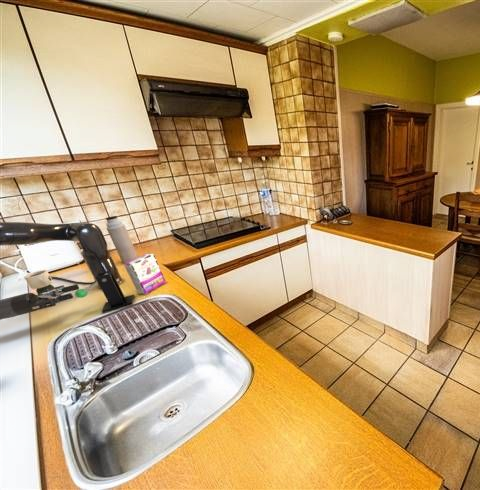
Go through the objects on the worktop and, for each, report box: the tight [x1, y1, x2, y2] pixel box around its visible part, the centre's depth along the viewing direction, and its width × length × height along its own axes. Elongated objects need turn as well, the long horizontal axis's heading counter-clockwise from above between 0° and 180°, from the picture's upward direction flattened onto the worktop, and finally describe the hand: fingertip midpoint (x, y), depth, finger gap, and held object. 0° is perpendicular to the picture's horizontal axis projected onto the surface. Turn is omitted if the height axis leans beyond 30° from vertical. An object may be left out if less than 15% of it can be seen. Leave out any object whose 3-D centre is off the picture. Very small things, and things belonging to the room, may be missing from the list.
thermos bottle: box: [105, 215, 139, 264], centre depth 158 cm, size 8×8×28 cm
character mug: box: [23, 269, 56, 295], centre depth 125 cm, size 11×7×13 cm, turn 63°
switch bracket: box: [96, 270, 135, 314], centre depth 115 cm, size 10×8×16 cm
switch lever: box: [74, 273, 112, 299], centre depth 112 cm, size 13×4×4 cm, turn 124°
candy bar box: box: [123, 253, 167, 295], centre depth 127 cm, size 11×5×16 cm, turn 168°
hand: (75, 290), depth 109 cm, fingers open, 8 cm apart
